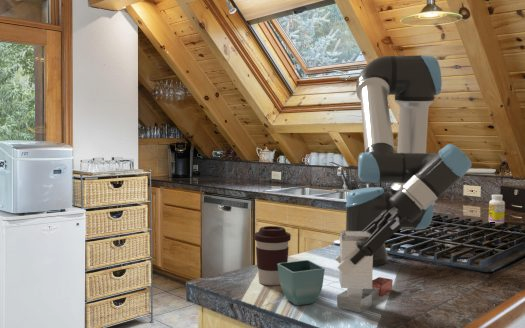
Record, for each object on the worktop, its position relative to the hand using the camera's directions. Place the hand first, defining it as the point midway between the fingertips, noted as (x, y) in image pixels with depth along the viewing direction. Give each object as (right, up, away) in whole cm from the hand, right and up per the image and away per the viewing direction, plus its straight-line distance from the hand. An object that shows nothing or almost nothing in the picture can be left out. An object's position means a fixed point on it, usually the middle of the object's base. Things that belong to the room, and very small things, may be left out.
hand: (340, 266), depth 122 cm
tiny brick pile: (+8, -9, +6) cm, 14 cm away
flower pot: (-9, -9, +4) cm, 14 cm away
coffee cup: (-16, -8, +20) cm, 27 cm away
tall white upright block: (+4, -4, 0) cm, 5 cm away
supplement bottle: (+90, -3, +117) cm, 147 cm away
